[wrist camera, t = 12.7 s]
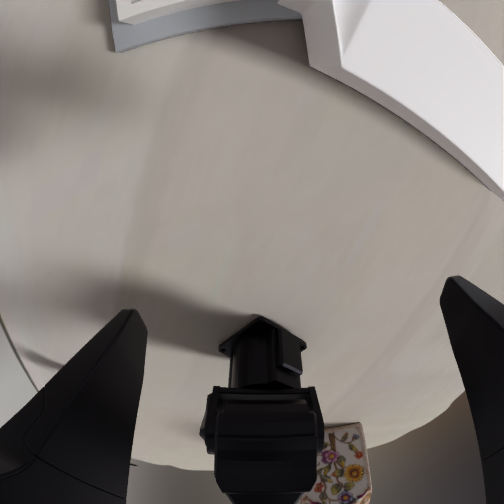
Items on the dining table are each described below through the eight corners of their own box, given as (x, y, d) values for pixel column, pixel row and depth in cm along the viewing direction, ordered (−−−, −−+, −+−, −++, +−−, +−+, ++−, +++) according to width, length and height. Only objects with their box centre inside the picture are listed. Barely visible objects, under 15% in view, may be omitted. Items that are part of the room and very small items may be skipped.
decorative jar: (354, 440, 49) (364, 516, 34) (298, 448, 50) (301, 526, 35) (362, 420, 42) (377, 513, 27) (296, 430, 43) (300, 525, 29)
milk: (535, 230, 14) (263, 36, 9) (492, 192, 19) (255, 47, 14) (568, 166, 11) (320, -73, 5) (520, 137, 16) (295, -34, 10)
